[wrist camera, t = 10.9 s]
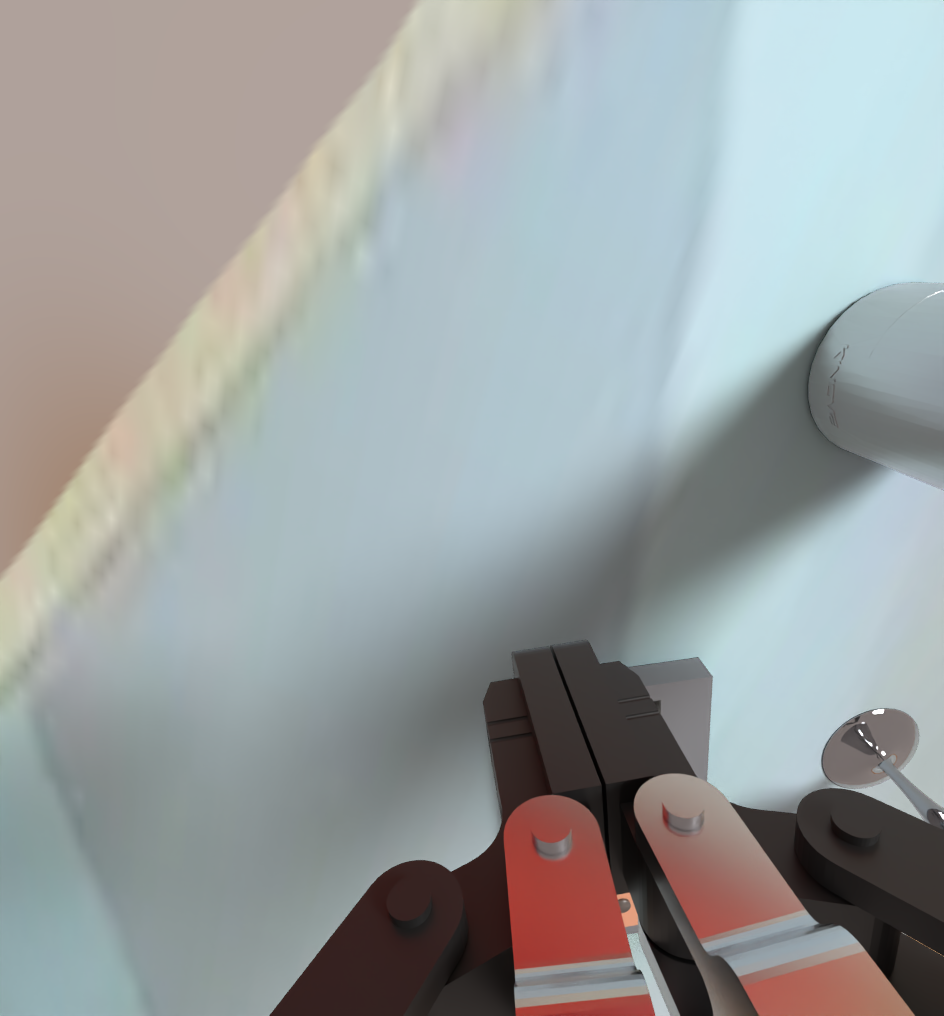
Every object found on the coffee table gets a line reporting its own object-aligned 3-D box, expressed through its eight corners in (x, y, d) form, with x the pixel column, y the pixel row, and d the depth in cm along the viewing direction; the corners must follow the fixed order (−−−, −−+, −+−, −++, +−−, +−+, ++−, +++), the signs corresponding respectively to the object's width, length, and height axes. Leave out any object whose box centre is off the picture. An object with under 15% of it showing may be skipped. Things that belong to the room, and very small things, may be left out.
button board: (698, 657, 39) (712, 676, 38) (687, 896, 47) (699, 922, 46) (512, 683, 39) (518, 704, 37) (534, 922, 47) (539, 949, 45)
